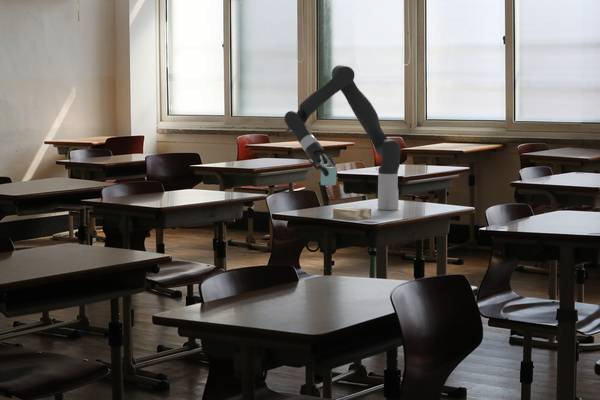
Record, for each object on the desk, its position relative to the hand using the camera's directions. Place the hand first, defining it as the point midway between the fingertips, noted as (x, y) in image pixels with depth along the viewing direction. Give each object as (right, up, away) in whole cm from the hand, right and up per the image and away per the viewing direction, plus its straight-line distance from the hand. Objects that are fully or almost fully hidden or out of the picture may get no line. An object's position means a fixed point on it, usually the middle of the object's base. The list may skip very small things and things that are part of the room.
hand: (331, 174), depth 449 cm
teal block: (-1, -5, +2) cm, 5 cm away
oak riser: (+9, -19, -6) cm, 22 cm away
